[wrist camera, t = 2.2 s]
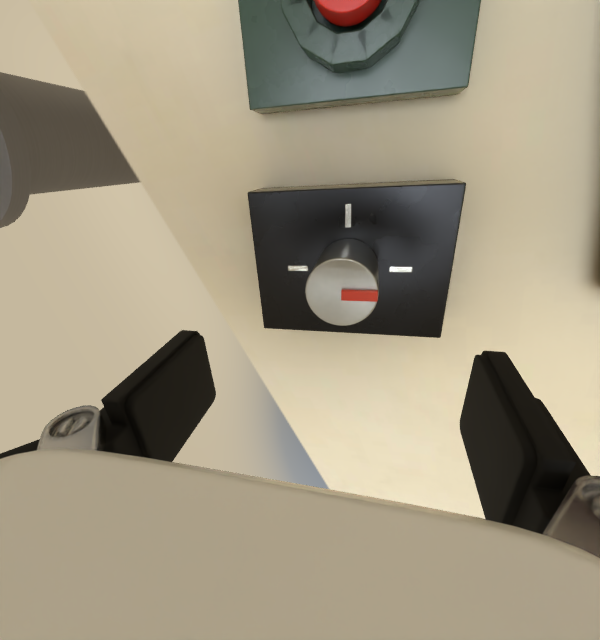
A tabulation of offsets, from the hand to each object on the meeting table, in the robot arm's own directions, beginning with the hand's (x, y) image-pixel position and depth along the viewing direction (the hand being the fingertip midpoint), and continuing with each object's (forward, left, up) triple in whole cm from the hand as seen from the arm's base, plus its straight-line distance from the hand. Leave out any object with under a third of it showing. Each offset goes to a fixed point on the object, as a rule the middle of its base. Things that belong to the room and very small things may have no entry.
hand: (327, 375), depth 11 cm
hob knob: (0, 0, -12) cm, 12 cm away
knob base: (0, 0, -15) cm, 15 cm away
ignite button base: (0, +14, -15) cm, 20 cm away
